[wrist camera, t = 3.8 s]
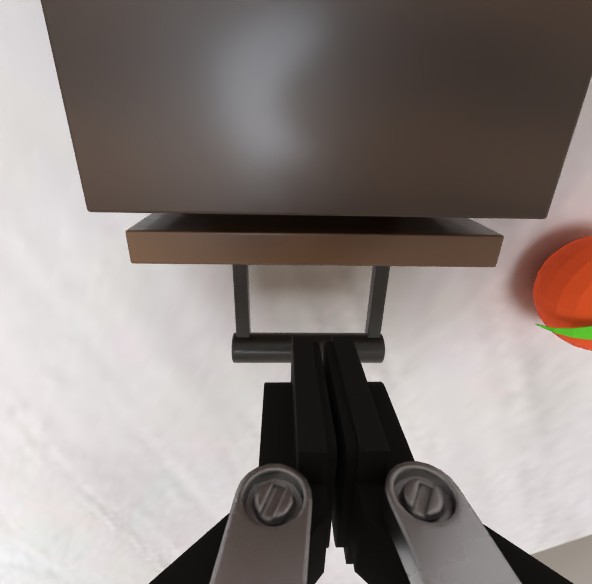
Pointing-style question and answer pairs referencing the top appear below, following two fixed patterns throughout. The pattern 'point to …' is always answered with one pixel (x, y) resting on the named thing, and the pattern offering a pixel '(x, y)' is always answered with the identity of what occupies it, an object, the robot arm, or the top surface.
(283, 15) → the cabinet
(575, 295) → the clementine
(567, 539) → the top surface
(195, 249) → the drawer
